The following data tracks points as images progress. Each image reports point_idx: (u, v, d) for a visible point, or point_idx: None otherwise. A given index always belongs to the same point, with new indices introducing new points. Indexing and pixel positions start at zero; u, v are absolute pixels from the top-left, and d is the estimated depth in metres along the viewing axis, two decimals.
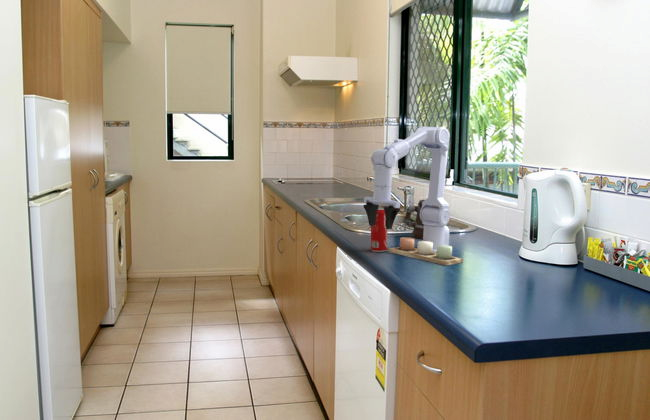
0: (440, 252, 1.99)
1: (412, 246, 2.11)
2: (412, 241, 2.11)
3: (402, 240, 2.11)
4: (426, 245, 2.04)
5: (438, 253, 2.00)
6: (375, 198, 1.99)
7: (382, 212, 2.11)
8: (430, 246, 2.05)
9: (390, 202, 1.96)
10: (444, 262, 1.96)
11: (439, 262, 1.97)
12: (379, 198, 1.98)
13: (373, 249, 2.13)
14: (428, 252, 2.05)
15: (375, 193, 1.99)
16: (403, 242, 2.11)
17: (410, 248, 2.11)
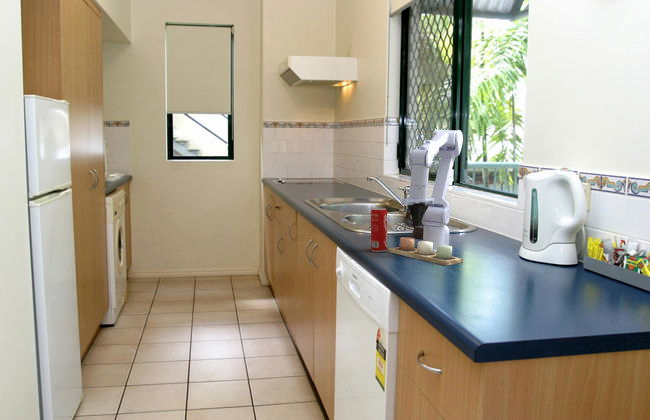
0: (440, 252, 1.99)
1: (412, 246, 2.11)
2: (412, 241, 2.11)
3: (402, 240, 2.11)
4: (426, 245, 2.04)
5: (438, 253, 2.00)
6: None
7: (382, 212, 2.11)
8: (430, 246, 2.05)
9: None
10: (444, 262, 1.96)
11: (439, 262, 1.97)
12: None
13: (373, 249, 2.13)
14: (428, 252, 2.05)
15: None
16: (403, 242, 2.11)
17: (410, 248, 2.11)
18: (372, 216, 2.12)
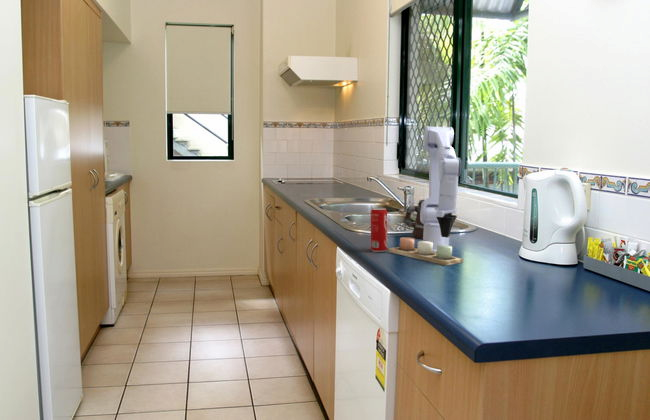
0: (440, 252, 1.99)
1: (412, 246, 2.11)
2: (412, 241, 2.11)
3: (402, 240, 2.11)
4: (426, 245, 2.04)
5: (438, 253, 2.00)
6: None
7: (382, 212, 2.11)
8: (430, 246, 2.05)
9: (437, 211, 1.96)
10: (444, 262, 1.96)
11: (439, 262, 1.97)
12: (438, 206, 1.99)
13: (373, 249, 2.13)
14: (428, 252, 2.05)
15: None
16: (403, 242, 2.11)
17: (410, 248, 2.11)
18: (372, 216, 2.12)
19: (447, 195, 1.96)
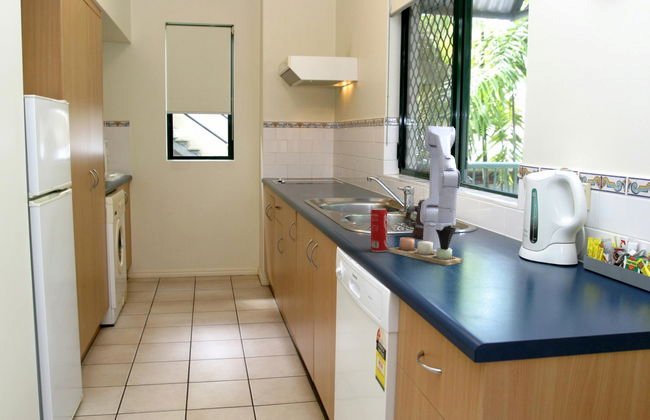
0: (440, 255, 1.99)
1: (412, 246, 2.11)
2: (412, 241, 2.11)
3: (402, 240, 2.11)
4: (426, 245, 2.04)
5: (438, 256, 2.00)
6: None
7: (382, 212, 2.11)
8: (430, 246, 2.05)
9: (436, 223, 1.96)
10: (444, 262, 1.96)
11: (439, 262, 1.97)
12: (437, 219, 2.00)
13: (373, 249, 2.13)
14: (428, 252, 2.05)
15: None
16: (403, 242, 2.11)
17: (410, 248, 2.11)
18: (372, 216, 2.12)
19: (446, 208, 1.96)
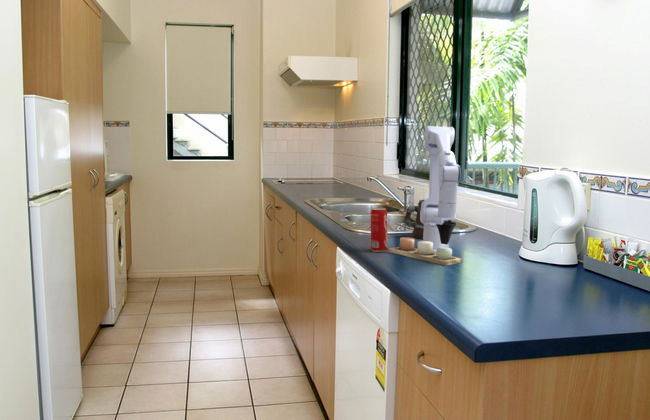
0: (440, 255, 1.99)
1: (412, 246, 2.11)
2: (412, 241, 2.11)
3: (402, 240, 2.11)
4: (426, 245, 2.04)
5: (438, 256, 2.00)
6: None
7: (382, 212, 2.11)
8: (430, 246, 2.05)
9: (437, 218, 1.96)
10: (444, 262, 1.96)
11: (439, 262, 1.97)
12: (437, 213, 2.00)
13: (373, 249, 2.13)
14: (428, 252, 2.05)
15: None
16: (403, 242, 2.11)
17: (410, 248, 2.11)
18: (372, 216, 2.12)
19: (447, 202, 1.96)
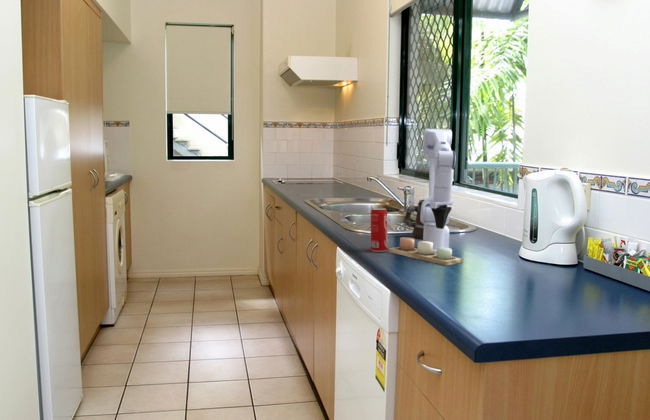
0: (440, 255, 1.99)
1: (412, 246, 2.11)
2: (412, 241, 2.11)
3: (402, 240, 2.11)
4: (426, 245, 2.04)
5: (438, 256, 2.00)
6: None
7: (382, 212, 2.11)
8: (430, 246, 2.05)
9: None
10: (444, 262, 1.96)
11: (439, 262, 1.97)
12: (433, 198, 2.03)
13: (373, 249, 2.13)
14: (428, 252, 2.05)
15: None
16: (403, 242, 2.11)
17: (410, 248, 2.11)
18: (372, 216, 2.12)
19: (441, 187, 1.99)
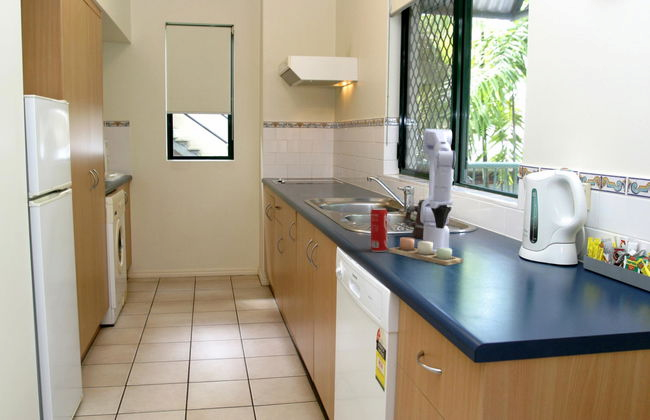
0: (440, 255, 1.99)
1: (412, 246, 2.11)
2: (412, 241, 2.11)
3: (402, 240, 2.11)
4: (426, 245, 2.04)
5: (438, 256, 2.00)
6: None
7: (382, 212, 2.11)
8: (430, 246, 2.05)
9: (431, 202, 1.99)
10: (444, 262, 1.96)
11: (439, 262, 1.97)
12: (433, 198, 2.03)
13: (373, 249, 2.13)
14: (428, 252, 2.05)
15: None
16: (403, 242, 2.11)
17: (410, 248, 2.11)
18: (372, 216, 2.12)
19: (441, 187, 1.99)
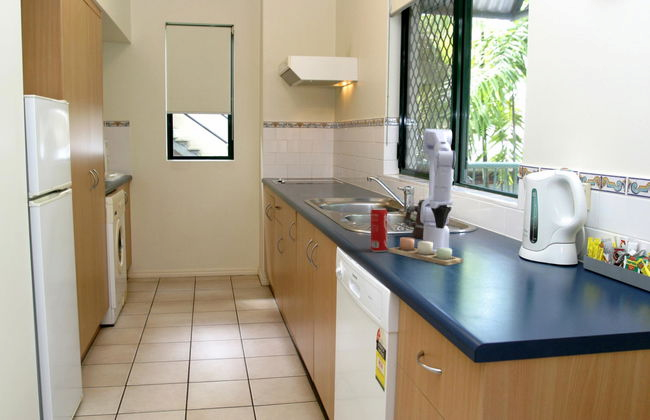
0: (440, 255, 1.99)
1: (412, 246, 2.11)
2: (412, 241, 2.11)
3: (402, 240, 2.11)
4: (426, 245, 2.04)
5: (438, 256, 2.00)
6: None
7: (382, 212, 2.11)
8: (430, 246, 2.05)
9: (431, 202, 1.99)
10: (444, 262, 1.96)
11: (439, 262, 1.97)
12: (433, 198, 2.03)
13: (373, 249, 2.13)
14: (428, 252, 2.05)
15: None
16: (403, 242, 2.11)
17: (410, 248, 2.11)
18: (372, 216, 2.12)
19: (441, 187, 1.99)
